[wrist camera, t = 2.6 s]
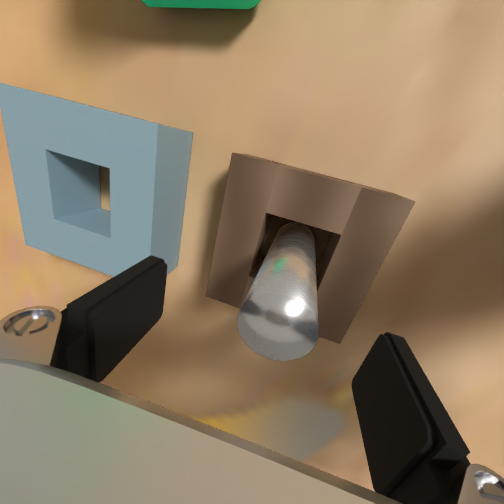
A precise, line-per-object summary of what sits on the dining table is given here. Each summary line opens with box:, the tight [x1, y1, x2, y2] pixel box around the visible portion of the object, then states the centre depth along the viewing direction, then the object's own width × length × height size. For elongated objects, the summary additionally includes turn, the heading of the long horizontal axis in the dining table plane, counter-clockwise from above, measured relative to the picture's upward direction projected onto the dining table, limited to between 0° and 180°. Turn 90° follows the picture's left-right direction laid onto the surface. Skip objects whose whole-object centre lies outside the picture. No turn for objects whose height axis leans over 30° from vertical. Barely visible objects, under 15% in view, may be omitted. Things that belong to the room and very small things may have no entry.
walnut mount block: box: [206, 153, 415, 344], centre depth 17 cm, size 11×11×4 cm
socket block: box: [0, 83, 193, 277], centre depth 19 cm, size 12×12×4 cm
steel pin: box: [237, 222, 318, 361], centre depth 14 cm, size 3×3×11 cm
